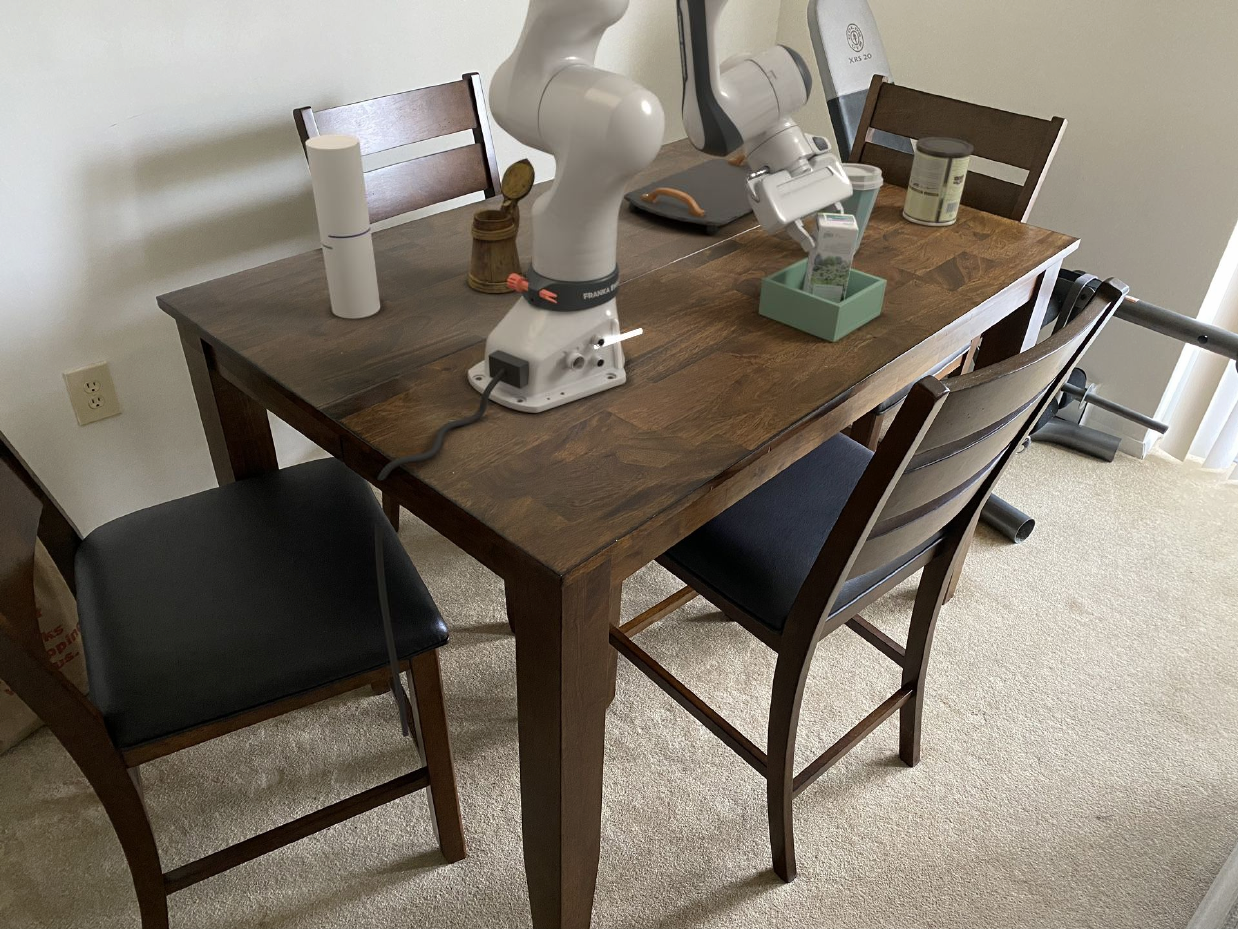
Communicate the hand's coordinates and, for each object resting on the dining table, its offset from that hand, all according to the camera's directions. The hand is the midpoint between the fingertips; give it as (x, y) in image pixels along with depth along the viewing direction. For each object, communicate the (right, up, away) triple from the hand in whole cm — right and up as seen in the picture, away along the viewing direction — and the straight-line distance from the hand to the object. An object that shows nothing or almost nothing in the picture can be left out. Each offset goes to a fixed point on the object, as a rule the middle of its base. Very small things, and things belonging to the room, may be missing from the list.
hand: (828, 241), depth 139 cm
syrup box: (0, -9, +6) cm, 11 cm away
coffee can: (+29, +15, +44) cm, 55 cm away
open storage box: (0, -10, +6) cm, 12 cm away
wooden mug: (-50, -3, +15) cm, 52 cm away
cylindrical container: (-71, -10, +4) cm, 72 cm away
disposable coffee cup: (+8, +5, +28) cm, 30 cm away
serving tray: (-12, +19, +48) cm, 53 cm away
